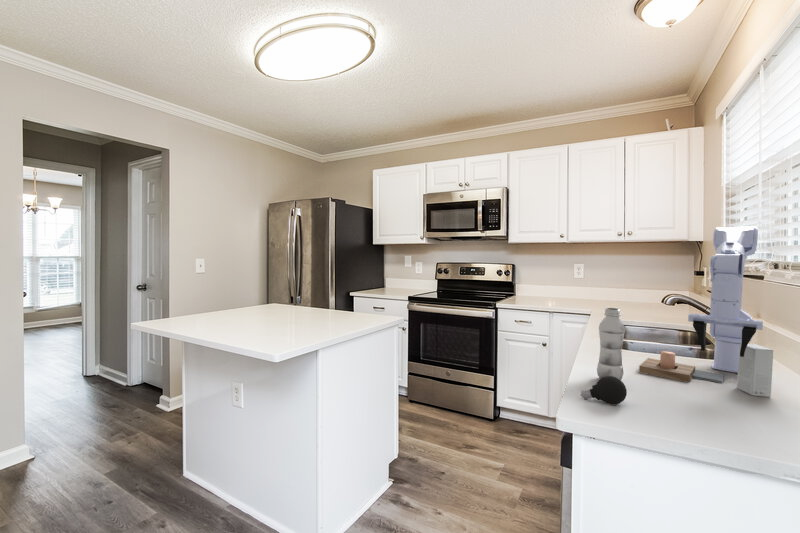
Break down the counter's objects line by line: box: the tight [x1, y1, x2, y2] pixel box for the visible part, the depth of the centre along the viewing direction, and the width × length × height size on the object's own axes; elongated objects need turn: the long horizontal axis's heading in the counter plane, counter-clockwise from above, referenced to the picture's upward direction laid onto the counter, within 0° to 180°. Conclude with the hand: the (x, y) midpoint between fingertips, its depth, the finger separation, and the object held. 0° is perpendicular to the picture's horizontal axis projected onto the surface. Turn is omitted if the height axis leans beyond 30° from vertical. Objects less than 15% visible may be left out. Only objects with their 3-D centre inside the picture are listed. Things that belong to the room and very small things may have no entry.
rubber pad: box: [692, 368, 725, 384], centre depth 111 cm, size 8×7×1 cm
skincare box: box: [736, 343, 774, 398], centre depth 99 cm, size 6×4×12 cm
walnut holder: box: [638, 357, 696, 383], centre depth 115 cm, size 12×12×2 cm
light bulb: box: [580, 376, 628, 406], centre depth 91 cm, size 6×6×10 cm
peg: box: [659, 350, 676, 369], centre depth 114 cm, size 4×4×6 cm
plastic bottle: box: [596, 307, 626, 381], centre depth 106 cm, size 6×7×20 cm
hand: (722, 353), depth 99 cm, fingers open, 7 cm apart
